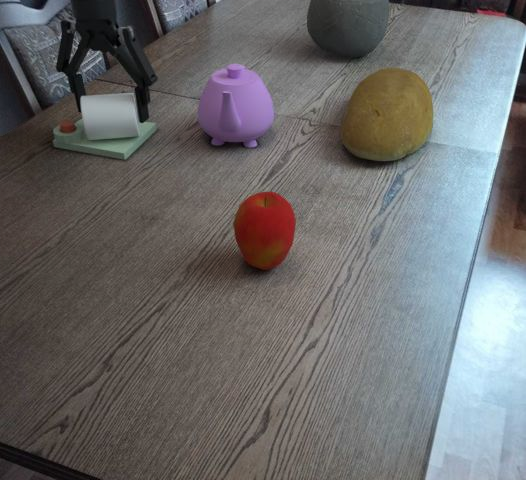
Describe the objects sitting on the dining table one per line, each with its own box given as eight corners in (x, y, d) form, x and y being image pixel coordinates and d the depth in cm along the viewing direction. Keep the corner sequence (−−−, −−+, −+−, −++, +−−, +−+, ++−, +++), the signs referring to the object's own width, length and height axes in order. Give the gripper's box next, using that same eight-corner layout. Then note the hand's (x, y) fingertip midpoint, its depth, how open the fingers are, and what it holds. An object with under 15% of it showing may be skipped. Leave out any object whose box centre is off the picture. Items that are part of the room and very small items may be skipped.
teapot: (267, 166, 106) (268, 92, 96) (187, 161, 107) (180, 88, 97) (278, 117, 121) (280, 49, 111) (208, 113, 122) (204, 45, 112)
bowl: (291, 56, 147) (294, -9, 136) (327, 35, 159) (332, -26, 148) (363, 73, 139) (372, 5, 128) (395, 49, 151) (406, -15, 141)
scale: (51, 147, 110) (47, 133, 108) (89, 118, 120) (86, 104, 117) (124, 160, 107) (121, 146, 105) (157, 129, 116) (155, 115, 114)
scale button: (58, 132, 109) (56, 125, 108) (66, 126, 111) (64, 119, 110) (70, 134, 108) (68, 127, 107) (78, 128, 110) (76, 121, 109)
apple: (254, 239, 89) (254, 170, 80) (304, 256, 86) (309, 187, 77) (223, 269, 84) (219, 199, 75) (275, 289, 80) (277, 219, 72)
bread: (332, 164, 106) (337, 112, 99) (353, 93, 130) (359, 48, 123) (428, 176, 104) (441, 124, 96) (432, 101, 127) (443, 55, 120)
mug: (140, 143, 109) (133, 102, 103) (88, 147, 107) (79, 106, 102) (138, 117, 117) (132, 78, 111) (90, 120, 116) (81, 81, 110)
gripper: (166, -7, 94) (178, 116, 109) (41, -22, 99) (69, 98, 115) (146, 5, 89) (162, 132, 104) (15, -11, 94) (48, 113, 110)
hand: (113, 115), depth 109 cm, fingers open, 13 cm apart
